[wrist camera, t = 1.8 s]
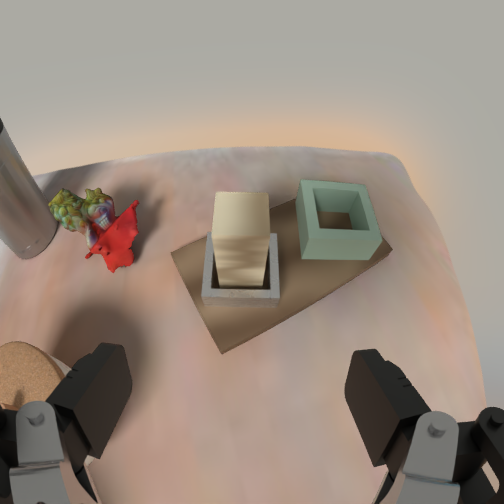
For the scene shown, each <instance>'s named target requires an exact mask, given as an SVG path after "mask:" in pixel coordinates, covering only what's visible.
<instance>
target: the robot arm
mask: <svg viewBox="0 0 504 504" xmlns="http://www.w3.org/2000/svg"><path fill="white" fill-rule="evenodd" d="M48 204H49V202H48V201H47V199H46V198H45V196H44V195H43V193H42V192H41V190H40V188H39V187H38V185H37V184H36V182H35V180H34V179H33V177H32V176H31V174H30V172H29V171H28V169H27V167H26V166H25V164H24V162H23V160H22V159H21V157H20V155H19V153H18V151H17V150H16V148H15V146H14V144H13V143H12V141H11V139H10V137H9V135H8V133H7V131H6V129H5V127H4V125H3V122H2V120H1V118H0V239H1V240H2V241H3V242H4V243H5V244H6V245H7V246H8V247H9V248H10V249H11V250H12V251H13V252H14V253H15V254H16V255H17V256H18V257H19V258H21V259H29V258H32V257H34V256H36V255H38V254H39V253H40V252H42V251H43V250H44V249H45V248H46V246H47V245H48V244H49V243H50V241H51V240H52V238H53V236H54V234H55V232H56V229H57V224H58V221H57V220H56V219H55V217H54V215H53V214H52V213H51V211H50V207H49V205H48ZM71 369H72V370H70V371H69V372H68V373H67V374H66V377H64V378H63V379H62V381H61V382H60V383H59V384H58V385H57V387H56V388H55V389H54V390H53V392H52V393H51V394H50V395H49V397H48V398H47V399H46V400H45V402H44V401H31V402H28V403H26V404H24V405H23V406H22V407H21V408H20V409H19V410H18V411H16V410H9V409H3V408H2V406H1V405H0V504H102V502H101V500H100V498H99V496H98V493H97V491H96V488H95V486H94V483H93V481H92V478H91V475H90V473H89V470H88V467H87V465H86V463H85V459H86V457H87V455H89V456H92V457H95V458H98V459H100V458H101V455H102V453H103V451H104V449H105V447H106V444H107V442H108V440H109V438H110V436H111V434H112V432H113V429H114V427H115V425H116V423H117V421H118V419H119V417H120V415H121V413H122V411H123V409H124V407H125V405H126V403H127V401H128V399H129V397H130V394H131V390H132V379H131V375H130V371H129V367H128V363H127V359H126V354H125V350H124V348H123V346H122V345H117V344H110V343H101V344H100V345H99V346H98V347H97V348H96V350H95V351H94V352H93V353H92V354H88V355H86V356H84V357H83V358H81V359H79V360H78V361H77V362H76V364H75V365H74V366H73V367H72V368H71ZM345 398H346V402H347V404H348V406H349V409H350V411H351V413H352V416H353V418H354V420H355V423H356V425H357V427H358V430H359V432H360V435H361V437H362V440H363V442H364V444H365V447H366V449H367V452H368V454H369V457H370V459H371V462H372V464H373V466H374V467H377V466H381V465H384V464H386V465H387V467H388V471H387V472H386V474H385V476H384V478H383V481H382V483H381V485H380V487H379V490H378V492H377V494H376V496H375V498H374V500H373V502H372V504H504V410H502V409H500V408H497V407H488V408H485V409H484V410H482V411H481V413H480V414H479V416H478V418H477V419H476V421H470V422H460V423H457V422H456V421H455V419H454V418H453V417H451V416H450V415H448V414H446V413H444V412H439V411H431V410H430V408H429V407H428V405H427V404H426V403H425V401H424V400H423V399H422V397H421V396H420V394H419V393H418V392H417V390H416V389H415V388H414V386H412V384H411V382H410V381H409V380H408V378H407V379H406V376H405V374H404V373H403V372H402V370H401V369H400V368H399V367H398V366H396V365H395V364H393V363H392V362H390V361H389V360H388V361H385V360H384V359H383V358H382V356H381V355H380V353H379V352H378V351H377V350H376V349H367V350H357V351H354V353H353V355H352V359H351V363H350V367H349V371H348V375H347V379H346V383H345ZM487 461H488V463H489V465H490V466H491V468H492V470H493V471H494V473H495V475H496V476H497V478H498V480H499V489H498V491H497V493H495V491H494V489H493V487H492V486H491V484H490V482H489V480H488V478H487V476H486V475H485V473H484V471H483V469H482V468H481V467H482V466H483V465H484V464H485V463H486V462H487Z"/></svg>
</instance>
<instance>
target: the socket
mask: <svg viewBox="0 0 504 504" xmlns="http://www.w3.org/2000/svg"><path fill="white" fill-rule="evenodd" d="M295 204H296V213H297V221H298V230H299V239H300V249H301V259H324V260H369V259H370V258H371V256H372V255H373V253H374V252H375V251H376V249H377V248H378V247H379V245H380V244H381V242H382V237H381V234H380V230H379V227H378V223H377V220H376V217H375V213H374V210H373V207H372V204H371V201H370V198H369V195H368V192H367V189H366V186H365V185H361V184H351V183H341V182H329V181H316V180H300V184H299V189H298V193H297V197H296V202H295ZM317 211H326V212H343V213H349V216H350V220H351V224H352V229H353V230H344V229H320V228H319V222H318V216H317Z"/></svg>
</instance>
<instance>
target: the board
mask: <svg viewBox="0 0 504 504" xmlns="http://www.w3.org/2000/svg"><path fill="white" fill-rule="evenodd" d="M295 202H296V199H293V200H291V201H289V202H286V203H284V204H281V205H279V206H276V207H274V208H272V209H269V217H270V233H277V248H278V268H279V290H280V299H279V302H278V305H277V308H253V307H212V306H204V303H203V300H202V297H201V294H202V282H203V271H204V261H205V251H206V242H207V237H205V238H202V239H200V240H198V241H196V242H193V243H191V244H189V245H187V246H185V247H182V248H180V249H178V250H176V251H174V252H171V255H172V258H173V260H174V262H175V264H176V267H177V269H178V271H179V273H180V275H181V277H182V279H183V281H184V283H185V285H186V287H187V289H188V291H189V293H190V295H191V297H192V299H193V301H194V303H195V305H196V307H197V309H198V311H199V313H200V315H201V317H202V319H203V321H204V323H205V325H206V327H207V328H208V330H209V332H210V334H211V336H212V338H213V340H214V341H215V343H216V345H217V347H218V349H219V351H220V352H221V354H223V353H225V352H227V351H229V350H231V349H233V348H235V347H237V346H239V345H241V344H243V343H245V342H247V341H248V340H250V339H252V338H254V337H256V336H258V335H260V334H261V333H263V332H265V331H267V330H269V329H270V328H272V327H274V326H276V325H278V324H279V323H281V322H283V321H285V320H286V319H288V318H290V317H292V316H293V315H295V314H297V313H298V312H300V311H302V310H304V309H305V308H307V307H309V306H310V305H312V304H314V303H315V302H317V301H319V300H320V299H322V298H324V297H325V296H327V295H328V294H330V293H332V292H333V291H335V290H336V289H338V288H340V287H341V286H343V285H344V284H346V283H347V282H349V281H351V280H352V279H354V278H355V277H357V276H358V275H360V274H361V273H363V272H364V271H366V270H367V269H369V268H370V267H372V266H373V265H375V264H376V263H378V262H379V261H381V260H382V259H384V258H385V257H386V256H388V255H389V253H390V252H391V251H392V250H393V249H392V248H391V247H390V245H389V244H388V243H387V242H386V241H385V239H384V238H383V237H382V236H381V237H382V242H381V244H380V245H379V247H378V248H377V249H376V251H375V252H374V253H373V255H372V256H371V258H370V259H369V260H324V259H301V249H300V239H299V230H298V221H297V213H296V204H295ZM317 216H318V222H319V228H320V229H344V230H353V229H352V224H351V220H350V216H349V213H343V212H326V211H317ZM214 289H220V286H219V280H218V273H217V267H216V266H215V279H214ZM262 290H268V267H267V260H266V266H265V272H264V279H263V285H262Z"/></svg>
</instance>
